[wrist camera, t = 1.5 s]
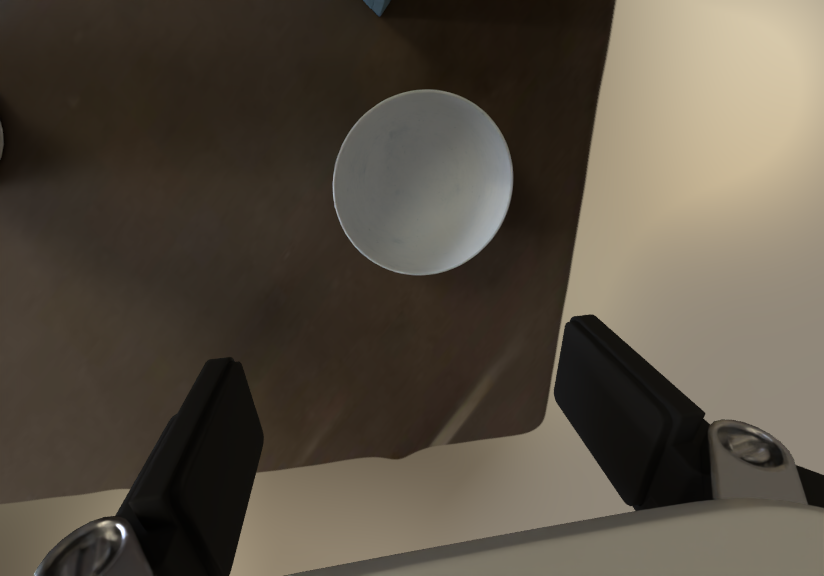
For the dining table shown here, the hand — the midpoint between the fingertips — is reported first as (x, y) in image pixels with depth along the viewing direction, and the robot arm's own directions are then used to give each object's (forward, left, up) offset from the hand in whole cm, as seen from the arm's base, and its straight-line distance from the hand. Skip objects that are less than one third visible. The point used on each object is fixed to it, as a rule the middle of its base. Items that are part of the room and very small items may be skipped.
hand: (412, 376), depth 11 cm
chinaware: (+3, +3, -30) cm, 30 cm away
